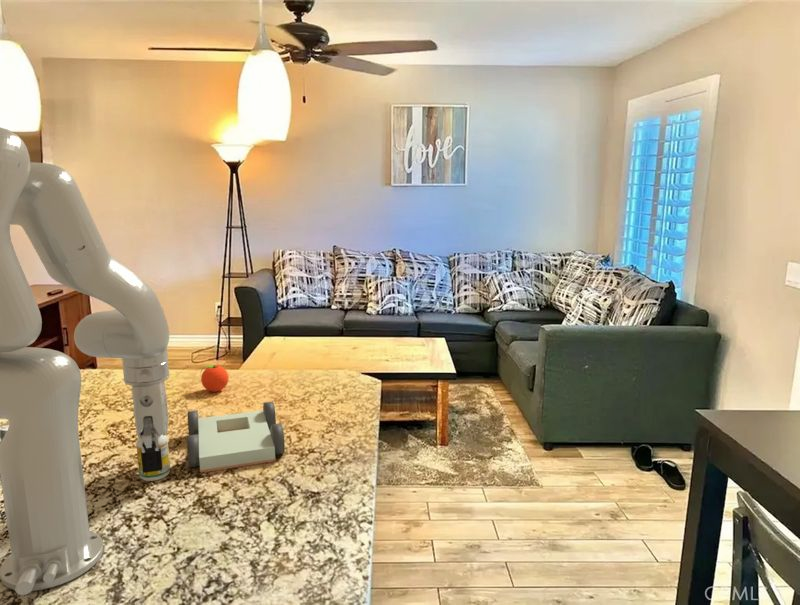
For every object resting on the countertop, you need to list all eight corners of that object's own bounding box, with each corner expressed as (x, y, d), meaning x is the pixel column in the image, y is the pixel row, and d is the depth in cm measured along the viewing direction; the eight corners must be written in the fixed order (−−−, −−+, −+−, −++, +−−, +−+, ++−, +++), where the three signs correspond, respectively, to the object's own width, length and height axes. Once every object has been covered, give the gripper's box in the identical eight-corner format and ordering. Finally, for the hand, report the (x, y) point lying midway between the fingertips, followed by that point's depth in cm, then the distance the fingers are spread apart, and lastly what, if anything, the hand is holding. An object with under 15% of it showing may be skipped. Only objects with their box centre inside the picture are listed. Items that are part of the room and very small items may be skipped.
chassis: (285, 459, 113) (284, 431, 111) (188, 474, 107) (186, 444, 105) (272, 421, 131) (271, 397, 130) (189, 432, 125) (187, 406, 124)
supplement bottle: (169, 479, 105) (165, 430, 103) (137, 483, 103) (132, 434, 101) (171, 466, 110) (167, 419, 108) (141, 470, 108) (137, 422, 106)
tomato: (192, 393, 149) (191, 367, 148) (208, 385, 155) (207, 360, 154) (219, 396, 147) (217, 370, 145) (234, 388, 153) (233, 362, 152)
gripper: (166, 384, 96) (174, 477, 99) (170, 356, 112) (177, 437, 115) (117, 389, 93) (127, 485, 97) (128, 359, 109) (136, 442, 113)
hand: (154, 458), depth 106 cm, fingers open, 9 cm apart
